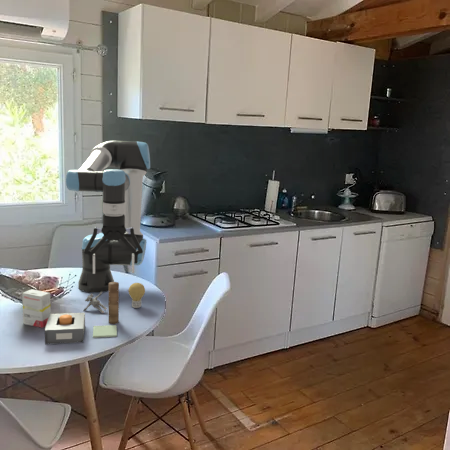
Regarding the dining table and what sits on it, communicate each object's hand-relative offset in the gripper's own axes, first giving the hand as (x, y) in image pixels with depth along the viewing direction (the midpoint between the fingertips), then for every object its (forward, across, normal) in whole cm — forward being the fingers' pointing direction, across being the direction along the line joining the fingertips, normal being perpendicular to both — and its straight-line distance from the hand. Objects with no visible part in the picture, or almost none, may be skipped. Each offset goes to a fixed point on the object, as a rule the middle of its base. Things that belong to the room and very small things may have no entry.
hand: (113, 272), depth 174 cm
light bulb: (+19, +9, +13) cm, 25 cm away
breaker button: (+16, -16, -8) cm, 24 cm away
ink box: (+20, -26, +2) cm, 33 cm away
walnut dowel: (+19, 0, 0) cm, 19 cm away
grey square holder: (+19, -16, -8) cm, 26 cm away
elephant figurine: (+20, -6, +12) cm, 24 cm away
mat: (+19, -3, -8) cm, 21 cm away
